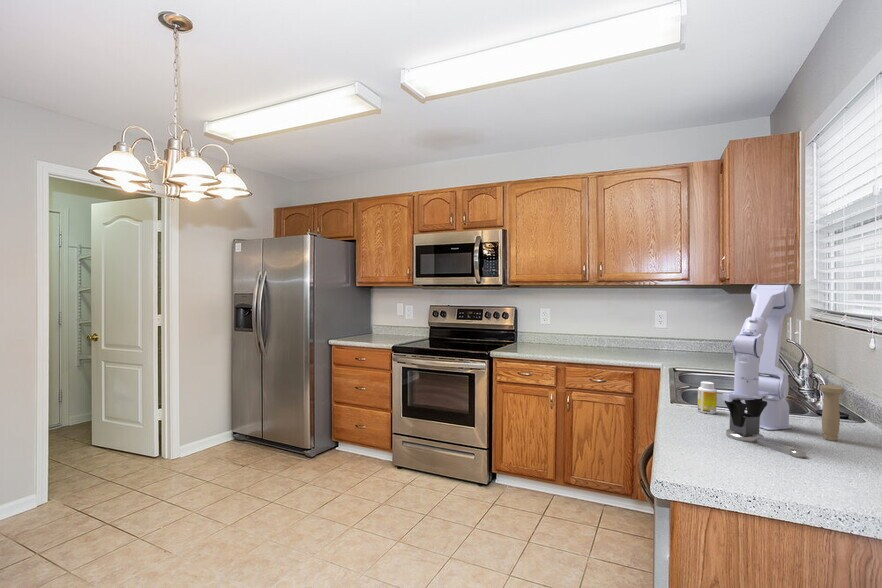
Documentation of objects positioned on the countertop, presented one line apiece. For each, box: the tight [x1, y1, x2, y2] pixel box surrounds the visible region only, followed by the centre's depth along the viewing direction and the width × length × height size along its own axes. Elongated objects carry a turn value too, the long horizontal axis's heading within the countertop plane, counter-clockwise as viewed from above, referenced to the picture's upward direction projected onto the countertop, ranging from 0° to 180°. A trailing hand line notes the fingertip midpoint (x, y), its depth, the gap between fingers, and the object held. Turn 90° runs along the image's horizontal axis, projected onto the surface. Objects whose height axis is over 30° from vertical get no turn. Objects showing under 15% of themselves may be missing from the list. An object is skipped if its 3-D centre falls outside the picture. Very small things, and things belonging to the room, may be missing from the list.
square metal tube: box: [729, 412, 760, 436], centre depth 127 cm, size 5×5×5 cm
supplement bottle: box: [697, 380, 718, 415], centre depth 154 cm, size 6×6×10 cm
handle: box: [819, 384, 844, 442], centre depth 127 cm, size 5×6×15 cm
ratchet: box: [725, 428, 807, 459], centre depth 122 cm, size 9×21×5 cm, turn 16°
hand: (745, 425), depth 127 cm, fingers closed on square metal tube, 5 cm apart
